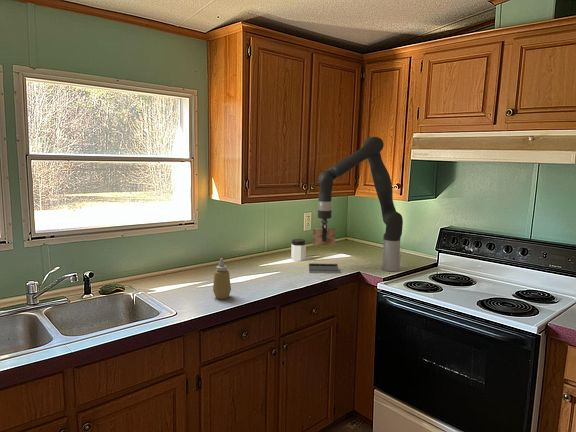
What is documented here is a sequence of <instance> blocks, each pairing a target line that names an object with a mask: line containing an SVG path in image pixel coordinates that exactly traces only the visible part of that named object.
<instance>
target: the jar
mask: <svg viewBox="0 0 576 432" xmlns="http://www.w3.org/2000/svg"><path fill="white" fill-rule="evenodd" d="M290 248H291V249H290V250H291V253H290V254H291V255H290V258H291V260H293V261H297V262H302V261H304V260H306V258H307V251H306V250H307V245H306V239H304V238H294V239H292V240H291V247H290Z"/></svg>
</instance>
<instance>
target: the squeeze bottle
mask: <svg viewBox="0 0 576 432" xmlns="http://www.w3.org/2000/svg"><path fill="white" fill-rule="evenodd" d="M230 276H231V275H230V271H229V270H228V267H227V265H225V263H224V258H223V257H221V258H220V259H219V263H218V265H216V270H215V271H214V273H213V283H212V284H213V285H212V292H213V294H214V298H215V299H217V300H225V299H228V298H229V297H230V293H231V292H232V291H231V290H232V287H231V285H232V284H231V279H230Z"/></svg>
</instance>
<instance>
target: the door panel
mask: <svg viewBox="0 0 576 432" xmlns="http://www.w3.org/2000/svg"><path fill="white" fill-rule="evenodd" d="M323 232H326V231H323ZM312 245H313V246H331V247H332V246H334V247H335V246H336V228H333V227H332V228H329V227H328V230H327V235H326V241H322V230H321V227H313V228H312Z"/></svg>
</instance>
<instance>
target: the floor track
mask: <svg viewBox="0 0 576 432" xmlns="http://www.w3.org/2000/svg"><path fill="white" fill-rule="evenodd" d="M339 272H340V271H339V263H318V262H317V263H313V262H312V263H310V262H309V263H308V273H310V274H339Z"/></svg>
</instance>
